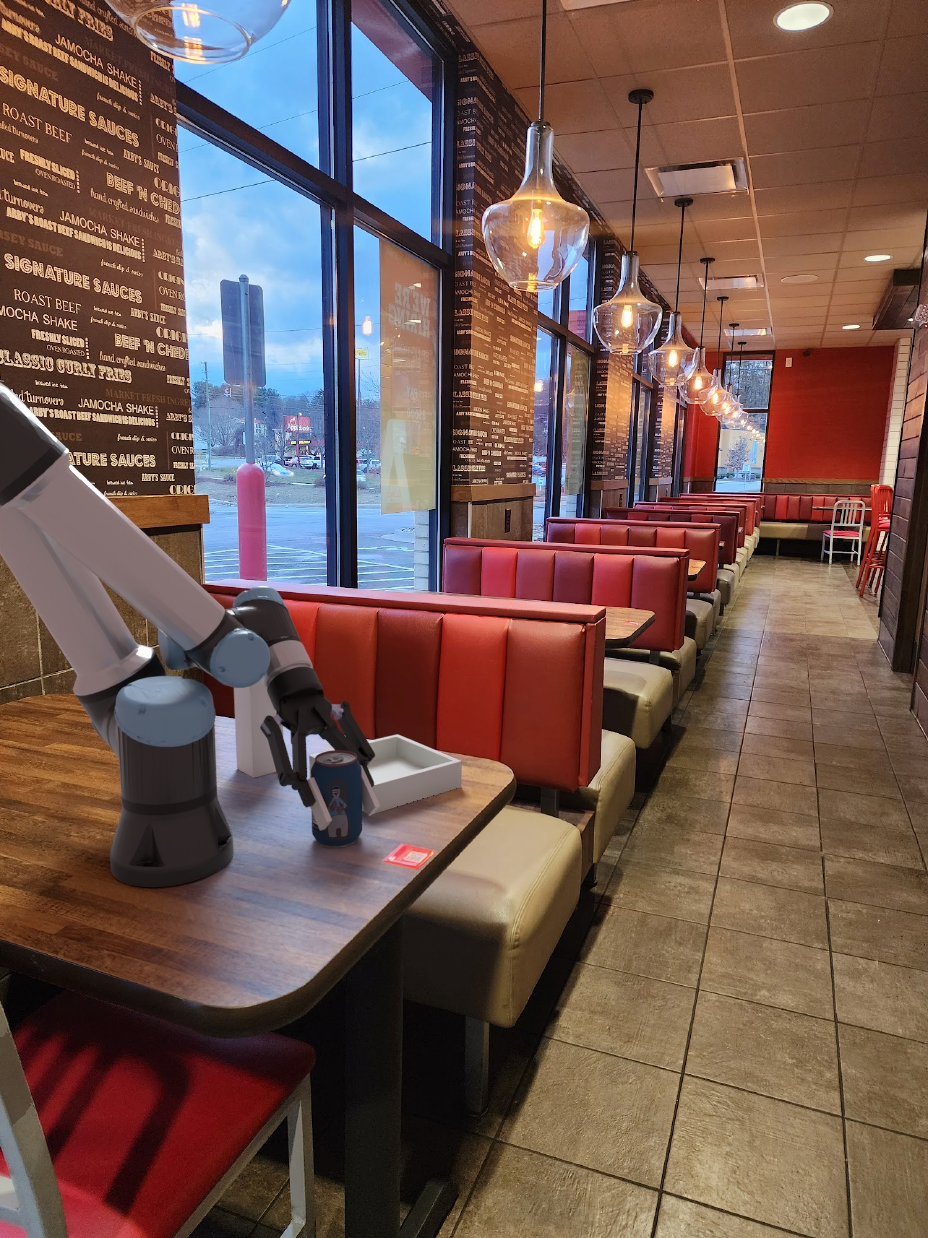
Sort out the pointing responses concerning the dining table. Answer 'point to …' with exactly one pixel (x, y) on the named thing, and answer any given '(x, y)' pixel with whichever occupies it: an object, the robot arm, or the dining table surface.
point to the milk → (253, 730)
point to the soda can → (339, 797)
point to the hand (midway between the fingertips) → (350, 818)
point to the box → (408, 771)
